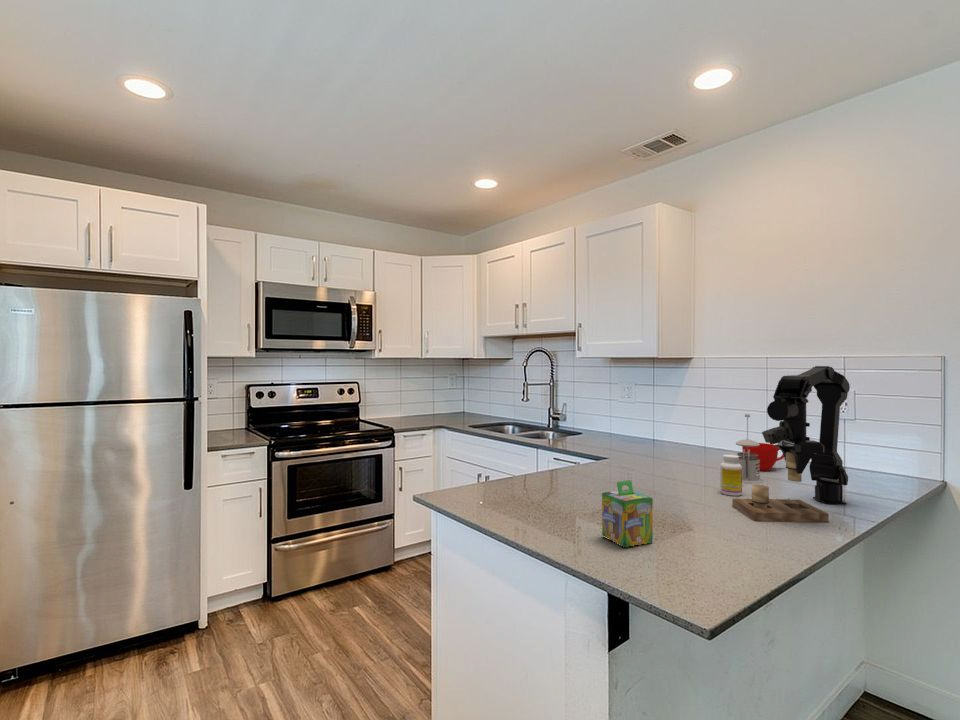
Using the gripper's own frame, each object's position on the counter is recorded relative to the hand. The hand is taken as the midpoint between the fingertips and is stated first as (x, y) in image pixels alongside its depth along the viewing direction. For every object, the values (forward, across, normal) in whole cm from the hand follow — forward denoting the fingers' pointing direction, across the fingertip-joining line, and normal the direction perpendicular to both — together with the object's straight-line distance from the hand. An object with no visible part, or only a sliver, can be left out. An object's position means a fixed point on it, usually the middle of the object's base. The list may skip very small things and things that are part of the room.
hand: (794, 471), depth 146 cm
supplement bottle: (+13, -22, -9) cm, 27 cm away
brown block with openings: (+12, 0, -5) cm, 13 cm away
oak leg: (+2, 0, 0) cm, 3 cm away
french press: (+13, -41, +5) cm, 43 cm away
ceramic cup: (+12, -61, +21) cm, 66 cm away
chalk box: (+13, +24, -54) cm, 61 cm away
